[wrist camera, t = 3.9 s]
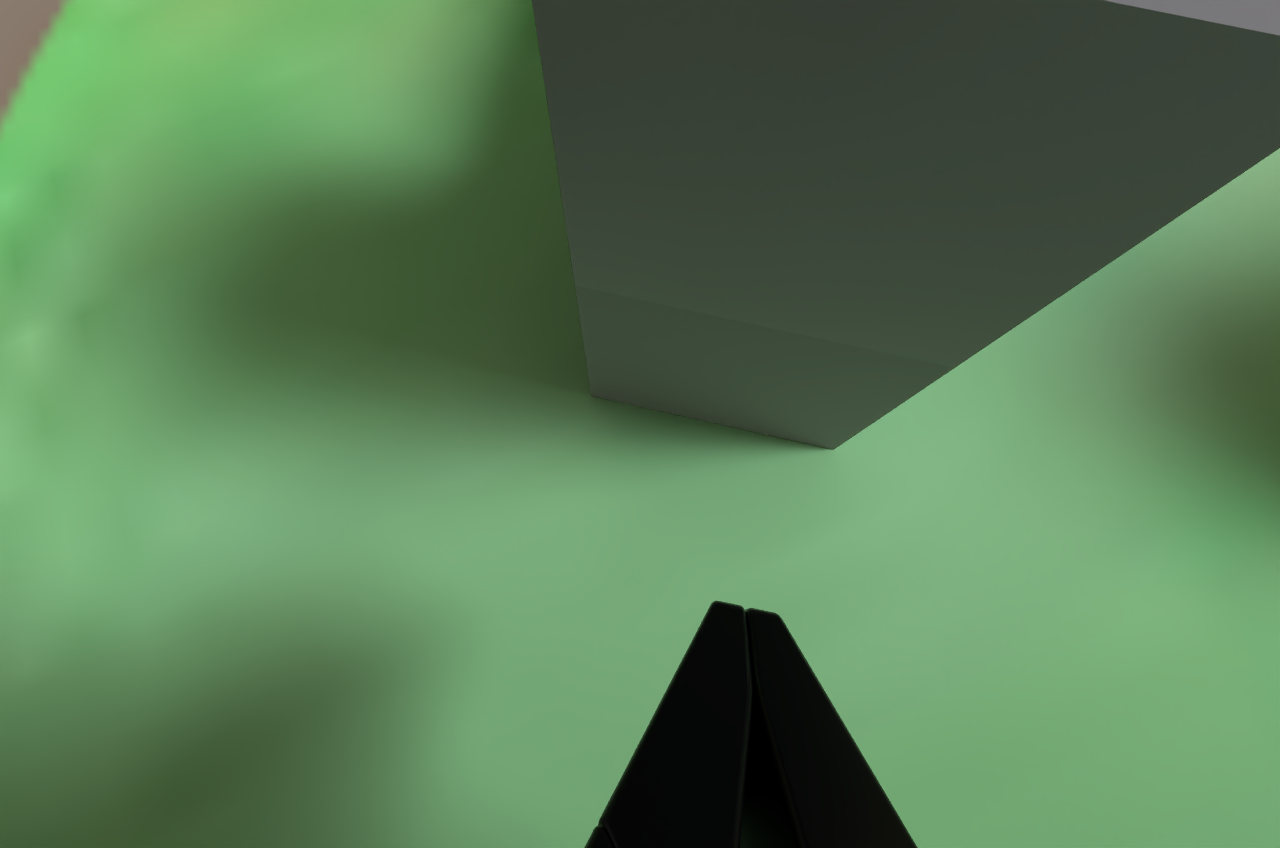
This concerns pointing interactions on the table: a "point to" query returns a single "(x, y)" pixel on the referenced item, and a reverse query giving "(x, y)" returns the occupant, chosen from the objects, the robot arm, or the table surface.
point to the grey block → (872, 181)
